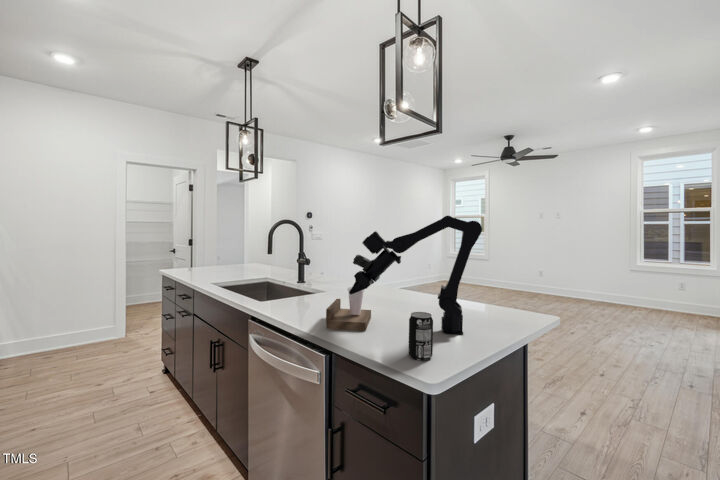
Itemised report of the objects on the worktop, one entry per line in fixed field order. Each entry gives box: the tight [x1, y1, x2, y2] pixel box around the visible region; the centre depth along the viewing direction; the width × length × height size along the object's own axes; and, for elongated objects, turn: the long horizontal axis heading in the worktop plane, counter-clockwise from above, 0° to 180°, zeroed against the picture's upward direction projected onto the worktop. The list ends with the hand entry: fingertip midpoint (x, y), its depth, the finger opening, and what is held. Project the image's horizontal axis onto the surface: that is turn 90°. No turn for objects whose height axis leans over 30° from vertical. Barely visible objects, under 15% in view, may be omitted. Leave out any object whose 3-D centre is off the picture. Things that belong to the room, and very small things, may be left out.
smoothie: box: [347, 286, 365, 315], centre depth 125 cm, size 6×6×14 cm
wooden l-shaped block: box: [325, 298, 372, 332], centre depth 126 cm, size 14×18×7 cm
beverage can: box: [408, 311, 434, 361], centre depth 93 cm, size 7×7×12 cm
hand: (352, 291), depth 125 cm, fingers open, 6 cm apart
